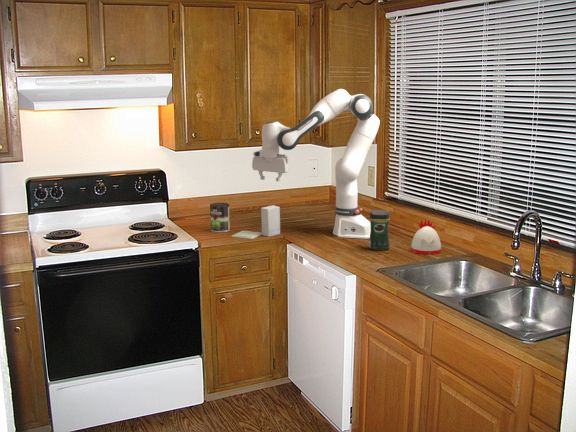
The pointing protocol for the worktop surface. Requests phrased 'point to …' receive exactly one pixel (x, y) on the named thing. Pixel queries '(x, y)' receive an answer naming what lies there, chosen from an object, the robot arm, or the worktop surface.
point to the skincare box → (270, 220)
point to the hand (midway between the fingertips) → (270, 180)
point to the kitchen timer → (426, 240)
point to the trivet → (247, 234)
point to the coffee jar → (379, 230)
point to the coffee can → (219, 217)
